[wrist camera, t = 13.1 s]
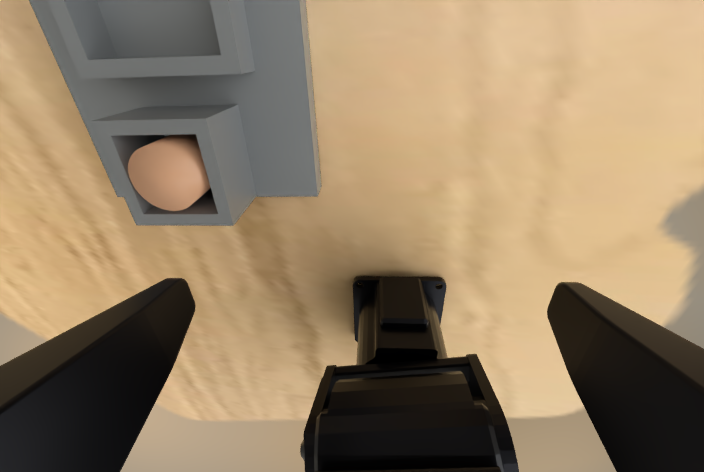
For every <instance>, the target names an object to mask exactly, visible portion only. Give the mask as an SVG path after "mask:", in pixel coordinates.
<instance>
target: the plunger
mask: <svg viewBox="0 0 704 472" xmlns="http://www.w3.org/2000/svg"><path fill="white" fill-rule="evenodd" d="M128 173H129V177H130V180H131V182H132V184H133V186H134V188H135V189H136V190H137V192H138V193H139V194H140V195H141V196H142V197H143V198H144V199H145V200H147V201H148V202H149V203H151V204H152V205H154V206H156V207H158V208H161V209H164V210H169V211H179V210H183V209H186V208H188V207H189V206H191V205H192V204H193V203H194V202H195V201H196V200H198V199H199V198H200V197H201V196H202V195H203V194H204V193H206V192H207V191H208V190H209V189H210V188H211V187H210V183H209V180H208V176H207V172H206V169H205V165H204V162H203V158H202V155H201V151H200V147H199V144H198V140H197V137H196V134H180V135H169V136H166V137H164V138H162V139H159V140H157V141H155V142H153V143H150V144H148V145H146V146H143V147H141V148H139V149H137V150H136V151H135V152H134V153H133V154H132V155H131V157H130V159H129V163H128Z"/></svg>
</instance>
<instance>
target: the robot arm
mask: <svg viewBox="0 0 704 472" xmlns="http://www.w3.org/2000/svg"><path fill="white" fill-rule="evenodd" d="M358 283H362V284H361V285H360V284H358ZM437 284H441V285H439V286H436V285H437ZM445 292H446V283H445V280H444V279H443V278H440V277H373V276H359V277H356V278H355V279H354V281H353V299H354V327H355V340H356V341H357V342H358V348H357V365H351V366H339V367H337V366H336V365H331V366H327V367H326V370H325V373H324V376H323V378H322V379H321V382H320V385H319V388H318V391H317V394H316V397H315V400H314V403H313V406H312V409H311V412H310V415H309V418H308V421H307V424H306V427H305V431H304V440H303V442H302V444H301V451H300V452H301V457H302V458H303V459H304V461H305V472H519V469H518V463H517V459H516V454H515V450H514V445H513V441H512V437H511V434H510V431H509V427H508V424H507V421H506V418H505V416H504V413H503V411H502V408H501V406H500V404H499V401H498V399H497V397H496V395H495V393H494V391H493V389H492V386H491V384H490V382H489V380H488V378H487V376H486V374H485V372H484V369H483V367H482V365H481V363H480V361H479V359H478V357H477V354H469V355H466V357H453V358H448V357H447V353H446V349H445V345H444V340H443V336H442V332H441V328H440V323H441V317H442V311H443V304H444V298H445ZM194 312H195V301H194V299H193V296H192V294H191V291H190V288H189V286H188V283H187V281H186V280H185V279H182V278H167V279H165V280H163V281H161V282H159V283H157V284H155V285H153V286H151V287H149V288H147V289H146V290H144V291H142V292H140V293H138V294H136V295H134V296H132V297H130V298H128V299H127V300H125V301H123V302H121V303H119V304H117V305H115V306H113V307H111V308H109V309H108V310H106V311H104V312H102V313H100V314H98V315H96V316H94V317H92V318H90V319H89V320H87V321H85V322H83V323H81V324H79V325H77V326H75V327H73V328H71V329H70V330H68V331H66V332H64V333H62V334H60V335H58V336H56V337H54V338H52V339H50V340H49V341H47V342H45V343H43V344H41V345H39V346H37V347H35V348H33V349H32V350H30V351H28V352H26V353H24V354H22V355H20V356H18V357H16V358H14V359H12V360H11V361H9V362H7V363H5V364H3V365H1V366H0V472H120V471H121V469H122V467H123V465H124V463H125V461H126V459H127V457H128V455H129V453H130V451H131V449H132V447H133V445H134V443H135V441H136V439H137V437H138V435H139V433H140V431H141V430H142V428H143V426H144V424H145V422H146V419H147V418H148V416H149V414H150V412H151V410H152V408H153V406H154V404H155V402H156V400H157V398H158V396H159V394H160V392H161V390H162V388H163V386H164V384H165V382H166V380H167V378H168V376H169V374H170V372H171V370H172V368H173V366H174V363H175V361H176V359H177V356H178V353H179V351H180V348H181V346H182V343H183V341H184V338H185V335H186V333H187V330H188V328H189V325H190V322H191V320H192V317H193V315H194ZM547 315H548V319H549V322H550V325H551V327H552V330H553V333H554V335H555V338H556V341H557V344H558V346H559V349H560V352H561V354H562V357H563V360H564V362H565V365H566V368H567V370H568V373H569V375H570V378H571V380H572V382H573V384H574V386H575V389H576V391H577V393H578V395H579V397H580V399H581V401H582V403H583V405H584V407H585V409H586V411H587V413H588V415H589V417H590V419H591V421H592V423H593V425H594V427H595V429H596V431H597V433H598V435H599V437H600V439H601V441H602V443H603V445H604V447H605V449H606V451H607V453H608V455H609V457H610V459H611V461H612V463H613V465H614V467H615V469H616V471H617V472H704V349H703V348H701V347H699V346H697V345H695V344H694V343H692V342H690V341H688V340H686V339H684V338H682V337H681V336H679V335H677V334H675V333H673V332H671V331H669V330H668V329H666V328H664V327H662V326H660V325H658V324H656V323H654V322H653V321H651V320H649V319H647V318H645V317H643V316H641V315H639V314H638V313H636V312H634V311H632V310H630V309H628V308H626V307H624V306H623V305H621V304H619V303H617V302H615V301H613V300H611V299H609V298H608V297H606V296H604V295H602V294H600V293H598V292H596V291H594V290H593V289H591V288H589V287H587V286H585V285H583V284H581V283H578V282H561V283H559V284H558V285H557V286H556V288H555V290H554V293H553V296H552V298H551V301H550V303H549V306H548V310H547Z"/></svg>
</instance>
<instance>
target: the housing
mask: <svg viewBox="0 0 704 472" xmlns="http://www.w3.org/2000/svg"><path fill="white" fill-rule="evenodd" d="M29 1H30V4H31V6H32V8H33V10H34V12H35V15H36V17H37V19H38V21H39V24H40V26H41V28H42V30H43V32H44V35H45V37H46V39H47V41H48V44H49V46H50V48H51V50H52V52H53V55H54V57H55V59H56V61H57V64H58V66H59V68H60V70H61V72H62V75H63V77H64V79H65V81H66V84H67V86H68V88H69V90H70V92H71V95H72V97H73V99H74V101H75V104H76V106H77V108H78V110H79V112H80V115H81V117H82V119H83V121H84V124H85V126H86V128H87V130H88V132H89V135H90V137H91V139H92V141H93V144H94V146H95V148H96V150H97V152H98V155H99V157H100V159H101V161H102V163H103V166H104V168H105V170H106V172H107V175H108V177H109V179H110V181H111V183H112V186H113V188H114V190H115V192H116V195H117V197H124V198H125V201H126V203H127V205H128V207H129V210H130V212H131V214H132V217H133V219H134V221H135V223H136V225H219V226H233V225H234V224H235V223H236V222H237V220H238V219H239V218H240V216H241V215H242V214H243V213H244V211H245V210H246V209H247V207H248V206H249V205H250V204H251V202H252V201H253V200H254V199H255V197H291V196H318V194H319V192H320V189H321V175H320V163H319V151H318V139H317V128H316V116H315V104H314V93H313V81H312V69H311V58H310V46H309V34H308V22H307V11H306V0H29ZM180 134H196V137H197V140H198V144H199V147H200V151H201V155H202V158H203V162H204V165H205V169H206V172H207V176H208V180H209V183H210V187H211V188H210V189H209V190H208V191H207V192H206V193H204V194H203V195H202V196H201V197H200V198H199V199H198V200H196V201H195V202H194V203H193V204H192V205H191V206H189V207H188V208H186V209H183V210H179V211H169V210H164V209H161V208H158V207H156V206H154V205H152V204H151V203H149V202H148V201H147V200H145V199H144V198H143V197H142V196H141V195H140V194H139V193H138V192H137V190H136V189H135V188H134V186H133V184H132V182H131V180H130V177H129V173H128V163H129V159H130V157H131V155H132V154H133V153H134V152H135V151H136V150H137V149H139V148H141V147H143V146H146V145H148V144H150V143H153V142H155V141H157V140H159V139H162V138H164V137H166V136H169V135H180Z"/></svg>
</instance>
